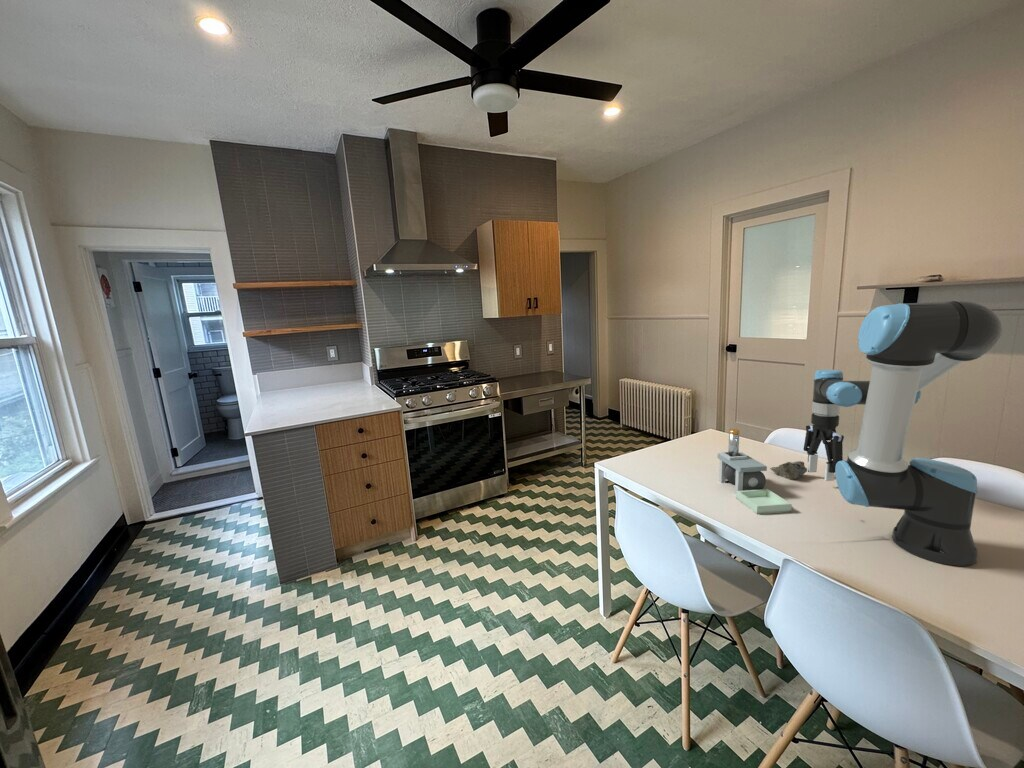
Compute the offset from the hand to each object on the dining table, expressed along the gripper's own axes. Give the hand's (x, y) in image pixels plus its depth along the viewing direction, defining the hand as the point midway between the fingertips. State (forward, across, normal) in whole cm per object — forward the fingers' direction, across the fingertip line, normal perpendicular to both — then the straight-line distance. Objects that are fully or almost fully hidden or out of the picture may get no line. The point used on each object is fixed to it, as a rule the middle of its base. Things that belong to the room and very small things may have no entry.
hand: (820, 475), depth 139 cm
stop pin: (-8, +3, +30) cm, 31 cm away
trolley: (+2, 0, +29) cm, 29 cm away
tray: (+2, -13, +30) cm, 33 cm away
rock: (-3, +1, +7) cm, 8 cm away
